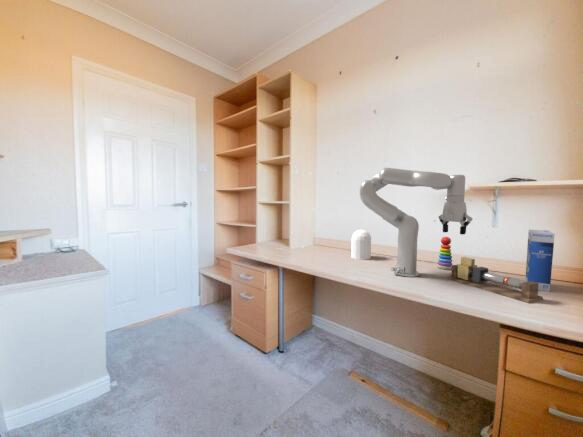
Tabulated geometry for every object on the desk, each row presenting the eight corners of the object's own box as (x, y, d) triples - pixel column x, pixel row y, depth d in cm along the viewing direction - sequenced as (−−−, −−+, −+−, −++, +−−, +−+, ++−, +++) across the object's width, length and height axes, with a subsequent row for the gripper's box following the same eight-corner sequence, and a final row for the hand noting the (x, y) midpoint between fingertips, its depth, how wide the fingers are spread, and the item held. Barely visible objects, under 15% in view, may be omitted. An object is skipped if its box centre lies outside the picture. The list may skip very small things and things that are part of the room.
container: (374, 257, 175) (374, 229, 174) (365, 260, 166) (365, 230, 164) (356, 254, 185) (357, 227, 183) (347, 257, 175) (347, 229, 174)
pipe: (454, 272, 126) (454, 265, 126) (459, 272, 128) (459, 264, 127) (528, 292, 98) (529, 283, 98) (534, 291, 100) (534, 282, 100)
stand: (447, 278, 127) (447, 265, 126) (460, 276, 130) (460, 263, 130) (528, 303, 96) (529, 285, 96) (542, 299, 100) (543, 282, 99)
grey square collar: (472, 281, 117) (472, 268, 117) (480, 279, 119) (481, 266, 119) (479, 282, 114) (479, 269, 114) (487, 281, 116) (488, 268, 116)
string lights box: (524, 281, 123) (528, 229, 121) (546, 284, 118) (550, 230, 116) (527, 288, 113) (530, 231, 111) (551, 292, 108) (555, 233, 106)
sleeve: (457, 277, 123) (458, 257, 123) (466, 275, 126) (467, 256, 125) (467, 280, 119) (468, 260, 118) (476, 278, 121) (477, 258, 121)
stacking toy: (455, 270, 143) (457, 237, 141) (441, 270, 143) (443, 237, 142) (447, 266, 151) (448, 235, 149) (434, 266, 151) (435, 235, 149)
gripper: (434, 199, 133) (433, 231, 135) (468, 199, 117) (466, 235, 119) (444, 199, 136) (442, 231, 137) (478, 199, 120) (476, 234, 121)
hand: (453, 233), depth 128 cm, fingers open, 8 cm apart
